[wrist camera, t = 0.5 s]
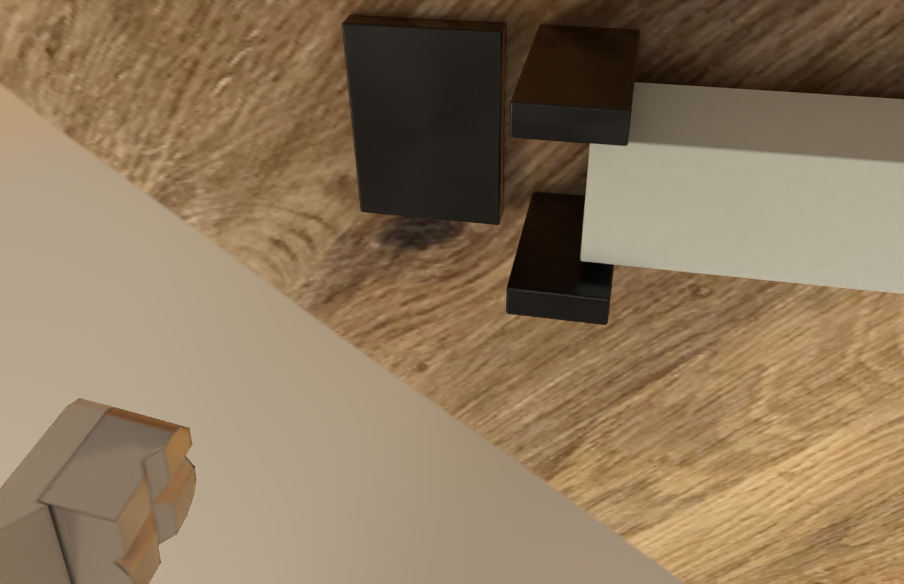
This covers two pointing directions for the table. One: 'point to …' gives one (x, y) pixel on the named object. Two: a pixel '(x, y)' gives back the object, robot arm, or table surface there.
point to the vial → (753, 187)
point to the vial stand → (488, 136)
